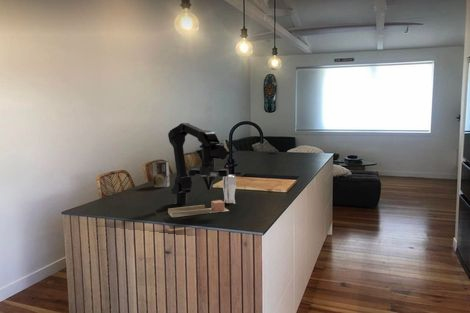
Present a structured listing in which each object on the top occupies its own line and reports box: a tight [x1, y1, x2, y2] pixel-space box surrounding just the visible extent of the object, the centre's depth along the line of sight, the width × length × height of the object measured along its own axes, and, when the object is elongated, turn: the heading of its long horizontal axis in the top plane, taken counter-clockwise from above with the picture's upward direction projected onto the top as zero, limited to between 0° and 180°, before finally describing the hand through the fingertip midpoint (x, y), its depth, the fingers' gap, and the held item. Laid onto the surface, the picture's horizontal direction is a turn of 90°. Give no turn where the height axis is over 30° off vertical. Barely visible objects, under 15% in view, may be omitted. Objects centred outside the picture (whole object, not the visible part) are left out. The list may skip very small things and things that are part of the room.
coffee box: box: [152, 160, 170, 188], centre depth 252 cm, size 9×6×16 cm
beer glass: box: [222, 174, 237, 204], centre depth 205 cm, size 7×7×15 cm
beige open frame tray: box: [167, 204, 230, 218], centre depth 186 cm, size 8×28×3 cm, turn 113°
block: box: [210, 199, 226, 212], centre depth 189 cm, size 5×5×4 cm
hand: (209, 190), depth 187 cm, fingers closed
